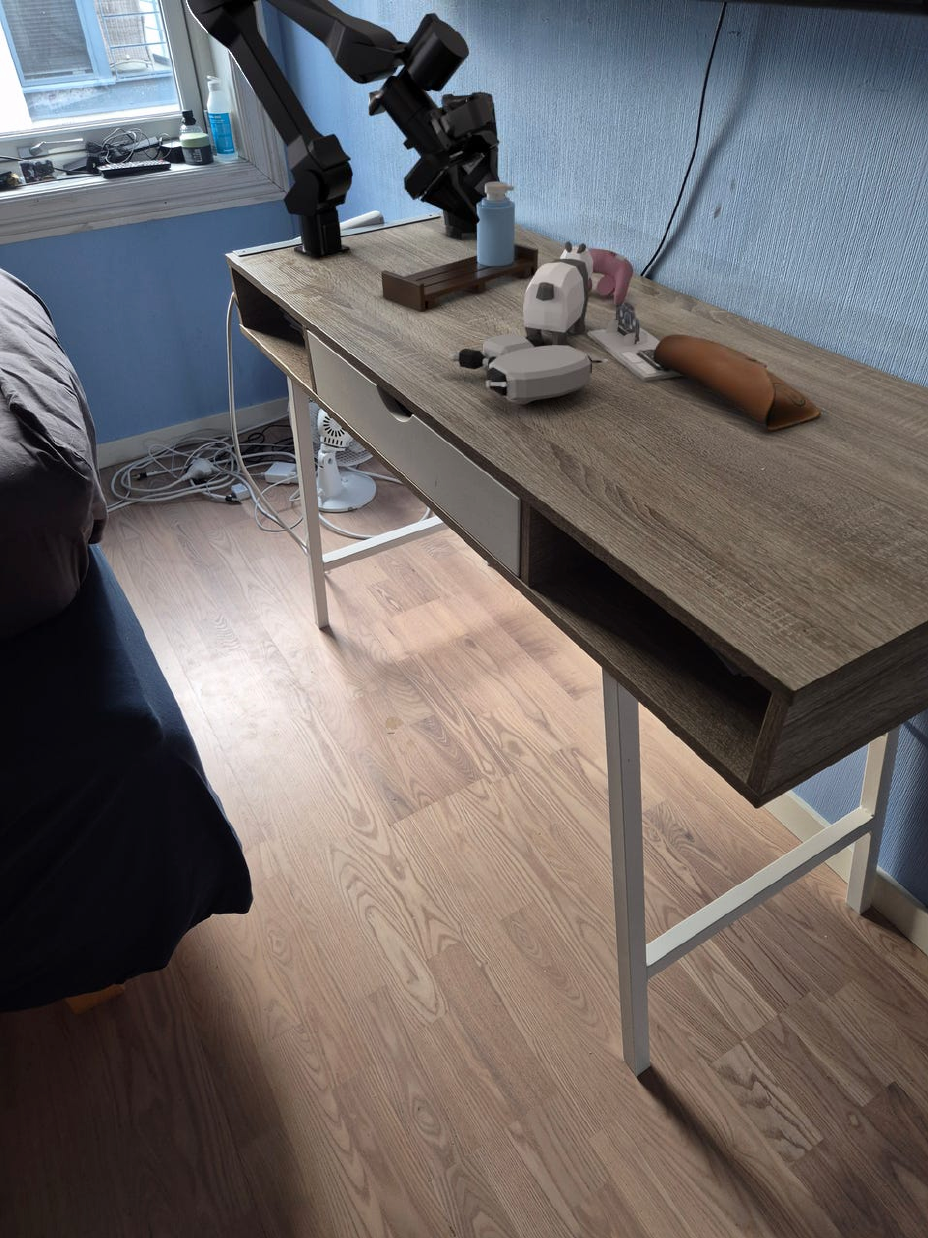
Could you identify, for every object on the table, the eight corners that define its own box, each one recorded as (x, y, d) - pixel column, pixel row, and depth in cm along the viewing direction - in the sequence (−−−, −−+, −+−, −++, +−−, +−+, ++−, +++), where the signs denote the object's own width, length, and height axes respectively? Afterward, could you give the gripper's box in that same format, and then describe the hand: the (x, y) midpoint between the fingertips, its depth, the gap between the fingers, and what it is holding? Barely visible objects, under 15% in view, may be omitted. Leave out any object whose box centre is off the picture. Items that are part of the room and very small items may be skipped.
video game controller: (628, 310, 116) (639, 255, 115) (621, 305, 112) (632, 247, 111) (558, 301, 120) (569, 248, 118) (549, 295, 116) (559, 240, 114)
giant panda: (562, 355, 101) (567, 270, 95) (518, 348, 102) (520, 264, 97) (601, 315, 111) (607, 235, 105) (560, 309, 113) (564, 231, 107)
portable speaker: (489, 242, 138) (489, 100, 126) (434, 238, 140) (428, 98, 128) (503, 227, 144) (504, 91, 132) (450, 224, 147) (446, 90, 134)
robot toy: (443, 380, 98) (508, 423, 86) (440, 340, 95) (507, 378, 84) (537, 360, 102) (611, 398, 91) (537, 320, 99) (613, 354, 88)
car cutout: (587, 334, 106) (590, 297, 103) (636, 327, 107) (640, 290, 105) (644, 381, 95) (649, 340, 92) (698, 373, 96) (704, 333, 93)
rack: (382, 297, 118) (380, 271, 116) (498, 262, 129) (498, 237, 127) (421, 311, 113) (419, 284, 111) (537, 274, 125) (538, 248, 122)
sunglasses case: (829, 410, 87) (818, 362, 82) (775, 457, 87) (761, 411, 82) (710, 348, 99) (694, 303, 94) (663, 388, 99) (645, 345, 94)
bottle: (472, 264, 122) (471, 186, 116) (484, 254, 126) (484, 178, 120) (507, 267, 121) (508, 189, 115) (518, 257, 125) (520, 180, 118)
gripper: (420, 79, 105) (502, 188, 108) (487, 62, 118) (558, 159, 121) (370, 147, 113) (447, 247, 116) (437, 124, 126) (505, 214, 128)
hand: (492, 214), depth 120 cm, fingers open, 9 cm apart
